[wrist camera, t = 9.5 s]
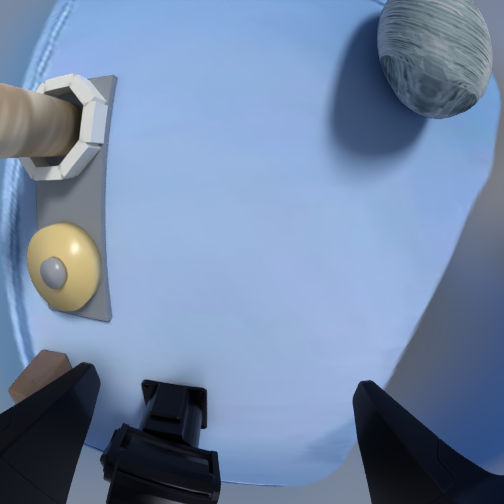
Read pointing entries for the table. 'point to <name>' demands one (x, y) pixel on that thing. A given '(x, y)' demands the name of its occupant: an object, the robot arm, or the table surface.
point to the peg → (36, 124)
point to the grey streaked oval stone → (435, 54)
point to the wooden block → (39, 374)
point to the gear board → (74, 205)
